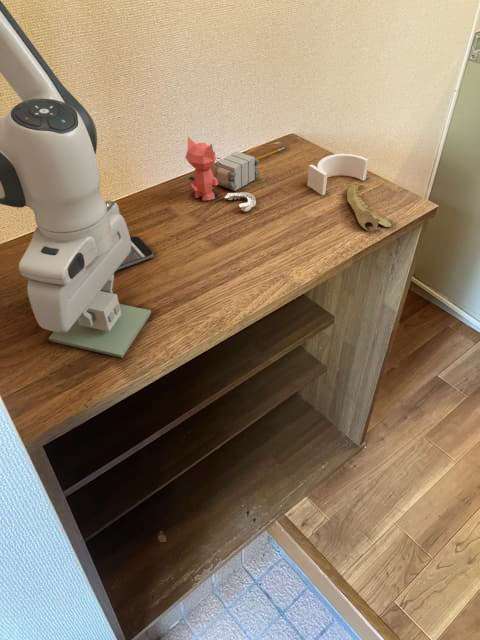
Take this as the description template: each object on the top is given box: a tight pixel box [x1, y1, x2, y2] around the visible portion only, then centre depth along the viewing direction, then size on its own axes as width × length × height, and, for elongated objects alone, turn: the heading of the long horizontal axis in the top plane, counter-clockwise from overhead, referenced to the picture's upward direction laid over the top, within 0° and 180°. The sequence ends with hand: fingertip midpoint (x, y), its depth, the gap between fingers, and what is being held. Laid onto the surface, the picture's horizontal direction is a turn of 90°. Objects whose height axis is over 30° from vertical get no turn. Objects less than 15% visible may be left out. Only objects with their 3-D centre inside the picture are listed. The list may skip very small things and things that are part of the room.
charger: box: [78, 291, 121, 331], centre depth 77 cm, size 5×4×4 cm
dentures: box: [224, 191, 257, 213], centre depth 105 cm, size 7×5×2 cm
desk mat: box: [48, 303, 152, 359], centre depth 79 cm, size 12×10×1 cm
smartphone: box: [115, 235, 154, 272], centre depth 91 cm, size 7×1×15 cm
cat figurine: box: [185, 136, 223, 201], centre depth 103 cm, size 7×7×12 cm
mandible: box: [346, 183, 392, 232], centre depth 103 cm, size 6×17×3 cm, turn 11°
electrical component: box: [215, 141, 286, 192], centre depth 114 cm, size 24×6×5 cm, turn 140°
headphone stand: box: [306, 153, 370, 196], centre depth 110 cm, size 5×6×12 cm
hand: (97, 311), depth 77 cm, fingers closed on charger, 4 cm apart
